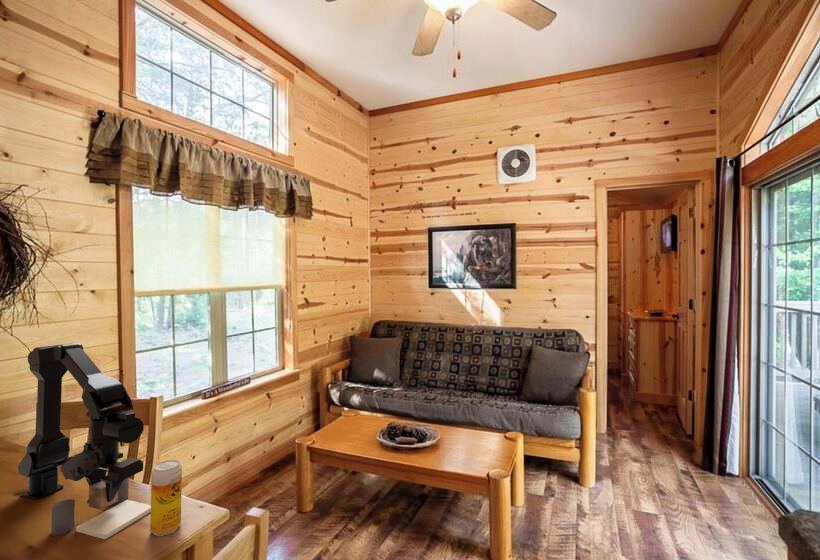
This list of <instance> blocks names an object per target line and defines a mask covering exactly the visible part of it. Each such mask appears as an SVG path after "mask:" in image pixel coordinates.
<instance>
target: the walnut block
mask: <svg viewBox="0 0 820 560" xmlns="http://www.w3.org/2000/svg"><path fill="white" fill-rule="evenodd" d="M117 501H118V491H117V493H116V495H115V497H114V499H113V500H112V501H110V502H108V501H107V496H106V483H105V482H104V481H102V480H101V481H99V482H97V483H95V484H93V485H90V486H89V485H88V507H89V508H91V509H96V510H100V511H102V510H103V509H105V508H107V507H109V506H111V505H112V504H113V503H115V502H117Z"/></svg>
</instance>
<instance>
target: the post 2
mask: <svg viewBox="0 0 820 560" xmlns="http://www.w3.org/2000/svg"><path fill="white" fill-rule="evenodd" d="M129 478H130V477H129ZM129 478H127V479H124V480H123V482H122V484H121V486H120V488H119V490H118V501H117V502H115V503H113V504H111V505H113V506H114V505H115V506H116V505H118V504H120V503H122V502H124V501H126V500H129V481H130V480H129Z"/></svg>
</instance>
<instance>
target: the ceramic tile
mask: <svg viewBox="0 0 820 560" xmlns="http://www.w3.org/2000/svg"><path fill="white" fill-rule="evenodd" d="M149 513H150V514H151V504H148V503H144V502H143V503H142V502H137V501H135V500H131V499H130V500H129V499H127V500H126V501H124V502H122V503H120V504H115V506H114V505H113V506H112V507H111V508H109V509H107V510H105V511H103V512H101V513H100V514H98V515H96V516H94V517H92V518H91V519H89V520H87V521H85V522H83V523H81V524H79V525H78V526H76V527H75V528H76V529H75V532H77V533H81V534H84V535H87V536H91V537H95V538H99V539H102V540H106V539H108V538H111V537H112V536H113V535H115V534H116V533H118V532H120V531H122V530H124V529H125V528H126V527H128V526H130V525H132V524H133V523H135V522H136V521H138V520H139V519H141V518H143V517H145V516H146V515H148V514H149Z"/></svg>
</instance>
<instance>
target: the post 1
mask: <svg viewBox="0 0 820 560" xmlns="http://www.w3.org/2000/svg"><path fill="white" fill-rule="evenodd" d="M75 508H76V500H75V499H74V498H67V499H63V500H59V501H57V502H56V503H54V504H52V506H51V525H50V527H51V531H50V533H51V536H61V535H64V534H67V533H69V532H71V531H73V530H74V528H75V520H76V519H75V515H76V513H75V510H76V509H75Z"/></svg>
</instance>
